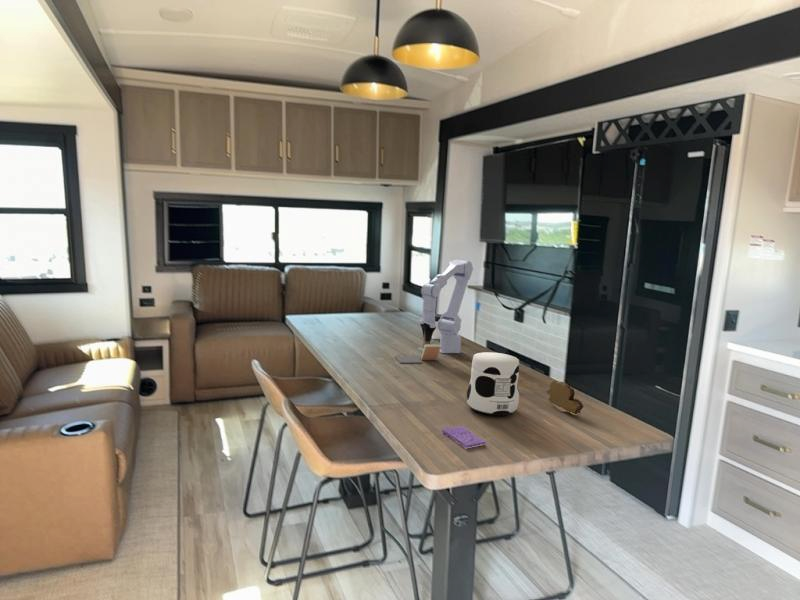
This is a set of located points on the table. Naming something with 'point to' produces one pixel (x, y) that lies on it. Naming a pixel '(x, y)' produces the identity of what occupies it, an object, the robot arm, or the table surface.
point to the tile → (430, 351)
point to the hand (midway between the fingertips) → (427, 340)
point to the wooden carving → (564, 397)
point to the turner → (424, 343)
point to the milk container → (494, 384)
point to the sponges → (463, 436)
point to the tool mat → (408, 360)
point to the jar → (436, 332)
